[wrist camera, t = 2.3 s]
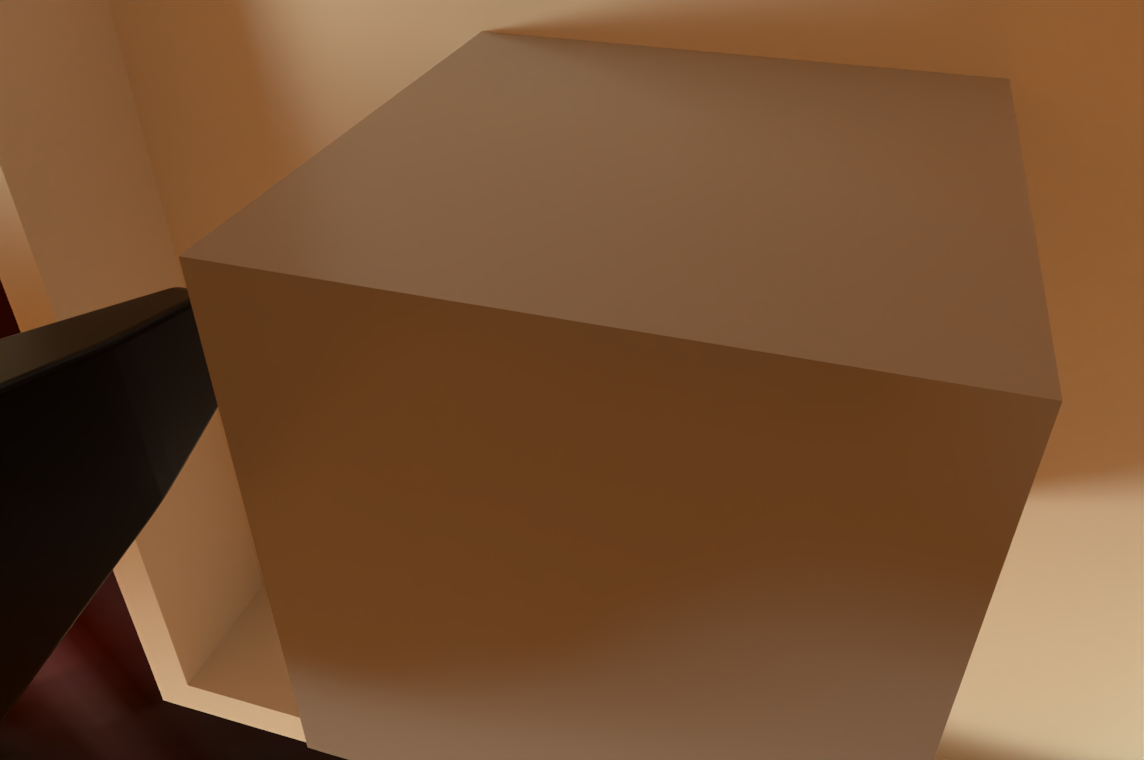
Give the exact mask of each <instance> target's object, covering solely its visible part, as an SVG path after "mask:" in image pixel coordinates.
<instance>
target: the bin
mask: <svg viewBox="0 0 1144 760" xmlns="http://www.w3.org/2000/svg"><path fill="white" fill-rule="evenodd" d="M481 31H484V32H495V33H507V34H518V35H529V36H540V37H551V38H562V39H573V40H584V41H595V42H606V43H617V44H628V45H639V46H650V47H661V48H672V49H684V50H695V51H706V52H717V53H728V54H739V55H750V56H761V57H772V58H783V59H794V60H805V61H816V62H827V63H838V64H849V65H861V66H872V67H883V68H894V69H905V70H916V71H927V72H938V73H949V74H960V75H971V76H982V77H993V78H1004V79H1009V80H1010V86H1011V92H1012V98H1013V104H1014V110H1015V116H1016V122H1017V128H1018V134H1019V140H1020V146H1021V152H1022V158H1023V164H1024V170H1025V177H1026V183H1027V189H1028V195H1029V201H1030V207H1031V213H1032V219H1033V225H1034V231H1035V237H1036V243H1037V249H1038V255H1039V261H1040V267H1041V274H1042V280H1043V286H1044V292H1045V298H1046V304H1047V310H1048V316H1049V322H1050V328H1051V334H1052V340H1053V346H1054V352H1055V358H1056V364H1057V370H1058V377H1059V383H1060V389H1061V395H1062V404H1061V407H1060V409H1059V412H1058V415H1057V418H1056V420H1055V423H1054V426H1053V429H1052V432H1051V434H1050V437H1049V440H1048V443H1047V445H1046V448H1045V451H1044V454H1043V457H1042V459H1041V462H1040V465H1039V468H1038V470H1037V473H1036V476H1035V479H1034V482H1033V484H1032V487H1031V490H1030V493H1029V495H1028V498H1027V501H1026V504H1025V507H1024V509H1023V512H1022V515H1021V518H1020V520H1019V523H1018V526H1017V529H1016V532H1015V534H1014V537H1013V540H1012V543H1011V545H1010V548H1009V551H1008V554H1007V557H1006V559H1005V562H1004V565H1003V568H1002V570H1001V573H1000V576H999V579H998V582H997V584H996V587H995V590H994V593H993V595H992V598H991V601H990V604H989V607H988V609H987V612H986V615H985V618H984V620H983V623H982V626H981V629H980V632H979V634H978V637H977V640H976V643H975V645H974V648H973V651H972V654H971V657H970V659H969V662H968V665H967V668H966V670H965V673H964V676H963V679H962V682H961V684H960V687H959V690H958V693H957V695H956V698H955V701H954V704H953V706H952V709H951V712H950V715H949V718H948V720H947V723H946V726H945V729H944V731H943V734H942V737H941V740H940V743H939V745H938V748H937V751H936V754H935V756H934V759H933V760H1144V0H0V280H1V282H2V285H3V287H4V290H5V293H6V295H7V298H8V300H9V303H10V305H11V308H12V311H13V313H14V316H15V318H16V321H17V324H18V326H19V329H20V331H21V332H24V331H28V330H31V329H35V328H38V327H41V326H45V325H48V324H51V323H55V322H58V321H61V320H65V319H68V318H71V317H75V316H78V315H81V314H85V313H88V312H91V311H95V310H98V309H102V308H105V307H108V306H112V305H115V304H118V303H122V302H125V301H128V300H132V299H135V298H138V297H142V296H145V295H148V294H152V293H155V292H158V291H162V290H165V289H169V288H173V287H183V288H187V287H186V283H185V279H184V275H183V272H182V268H181V264H180V260H179V255H181V254H182V253H183V252H185V251H186V250H187V249H189V248H190V247H192V246H193V245H194V244H196V243H197V242H198V241H200V240H201V239H202V238H204V237H205V236H206V235H208V234H209V233H210V232H212V231H213V230H214V229H216V228H217V227H219V226H220V225H221V224H223V223H224V222H225V221H227V220H228V219H229V218H231V217H232V216H233V215H235V214H236V213H237V212H239V211H240V210H241V209H243V208H244V207H245V206H247V205H248V204H250V203H251V202H252V201H254V200H255V199H256V198H258V197H259V196H260V195H262V194H263V193H264V192H266V191H267V190H268V189H270V188H271V187H272V186H274V185H275V184H276V183H278V182H279V181H281V180H282V179H283V178H285V177H286V176H287V175H289V174H290V173H291V172H293V171H294V170H295V169H297V168H298V167H299V166H301V165H302V164H303V163H305V162H306V161H307V160H309V159H310V158H312V157H313V156H314V155H316V154H317V153H318V152H320V151H321V150H322V149H324V148H325V147H326V146H328V145H329V144H330V143H332V142H333V141H334V140H336V139H337V138H338V137H340V136H341V135H343V134H344V133H345V132H347V131H348V130H349V129H351V128H352V127H353V126H355V125H356V124H357V123H359V122H360V121H361V120H363V119H364V118H365V117H367V116H368V115H369V114H371V113H372V112H374V111H375V110H376V109H378V108H379V107H380V106H382V105H383V104H384V103H386V102H387V101H388V100H390V99H391V98H392V97H394V96H395V95H396V94H398V93H399V92H400V91H402V90H403V89H405V88H406V87H407V86H409V85H410V84H411V83H413V82H414V81H415V80H417V79H418V78H419V77H421V76H422V75H423V74H425V73H426V72H427V71H429V70H430V69H431V68H433V67H434V66H436V65H437V64H438V63H440V62H441V61H442V60H444V59H445V58H446V57H448V56H449V55H450V54H452V53H453V52H454V51H456V50H457V49H458V48H460V47H461V46H463V45H464V44H465V43H467V42H468V41H469V40H471V39H472V38H473V37H475V36H476V35H477V34H479V33H480V32H481ZM113 571H114V574H115V576H116V579H117V581H118V584H119V587H120V589H121V592H122V594H123V597H124V600H125V602H126V605H127V607H128V610H129V612H130V615H131V618H132V620H133V623H134V625H135V628H136V630H137V633H138V636H139V638H140V641H141V643H142V646H143V649H144V651H145V654H146V656H147V659H148V661H149V664H150V667H151V669H152V672H153V674H154V677H155V680H156V682H157V685H158V687H159V690H160V692H161V695H162V698H163V700H164V701H168V702H171V703H175V704H178V705H181V706H185V707H188V708H192V709H195V710H198V711H202V712H205V713H209V714H212V715H215V716H219V717H222V718H226V719H229V720H232V721H236V722H239V723H243V724H246V725H249V726H253V727H256V728H260V729H263V730H266V731H270V732H273V733H277V734H280V735H283V736H287V737H290V738H294V739H297V740H300V741H304V742H306V739H305V735H304V731H303V728H302V724H301V720H300V716H299V712H298V709H297V705H296V701H295V697H294V693H293V690H292V686H291V682H290V678H289V674H288V671H287V667H286V663H285V659H284V655H283V652H282V648H281V644H280V640H279V636H278V633H277V629H276V625H275V621H274V617H273V614H272V610H271V606H270V602H269V598H268V595H267V591H266V587H265V583H264V579H263V576H262V572H261V568H260V564H259V560H258V557H257V553H256V549H255V545H254V541H253V538H252V534H251V530H250V526H249V522H248V519H247V515H246V511H245V507H244V503H243V500H242V496H241V492H240V488H239V484H238V481H237V477H236V473H235V469H234V465H233V462H232V458H231V454H230V450H229V446H228V443H227V439H226V435H225V431H224V427H223V424H222V420H221V416H220V412H219V408H217V410H216V412H215V413H214V415H213V417H212V418H211V420H210V422H209V424H208V425H207V427H206V429H205V430H204V432H203V434H202V436H201V437H200V439H199V441H198V442H197V444H196V446H195V448H194V449H193V451H192V453H191V454H190V456H189V458H188V460H187V461H186V463H185V465H184V466H183V468H182V470H181V472H180V473H179V475H178V477H177V478H176V480H175V482H174V483H173V485H172V487H171V488H170V490H169V491H168V493H167V495H166V496H165V498H164V500H163V501H162V503H161V504H160V505H159V507H158V508H157V510H156V511H155V513H154V514H153V516H152V517H151V518H150V520H149V521H148V523H147V524H146V525H145V527H144V528H143V529H142V531H141V532H140V533H139V535H138V536H137V538H136V539H135V540H134V542H133V543H132V544H131V546H130V547H129V549H128V550H127V551H126V553H125V554H124V555H123V557H122V558H121V559H120V561H119V562H118V564H117V565H116V566H115V568H114V569H113Z"/></svg>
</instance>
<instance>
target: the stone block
mask: <svg viewBox="0 0 1144 760" xmlns="http://www.w3.org/2000/svg"><path fill="white" fill-rule="evenodd" d="M179 260H180V264H181V268H182V272H183V275H184V279H185V283H186V287H187V291H188V294H189V298H190V302H191V306H192V310H193V313H194V317H195V321H196V325H197V329H198V332H199V336H200V340H201V344H202V348H203V351H204V355H205V359H206V363H207V367H208V370H209V374H210V378H211V382H212V386H213V389H214V393H215V397H216V401H217V405H218V408H219V412H220V416H221V420H222V424H223V427H224V431H225V435H226V439H227V443H228V446H229V450H230V454H231V458H232V462H233V465H234V469H235V473H236V477H237V481H238V484H239V488H240V492H241V496H242V500H243V503H244V507H245V511H246V515H247V519H248V522H249V526H250V530H251V534H252V538H253V541H254V545H255V549H256V553H257V557H258V560H259V564H260V568H261V572H262V576H263V579H264V583H265V587H266V591H267V595H268V598H269V602H270V606H271V610H272V614H273V617H274V621H275V625H276V629H277V633H278V636H279V640H280V644H281V648H282V652H283V655H284V659H285V663H286V667H287V671H288V674H289V678H290V682H291V686H292V690H293V693H294V697H295V701H296V705H297V709H298V712H299V716H300V720H301V724H302V728H303V731H304V735H305V739H306V743H307V747H308V748H311V749H315V750H318V751H321V752H325V753H328V754H332V755H335V756H338V757H342V758H345V759H348V760H933V759H934V756H935V754H936V751H937V748H938V745H939V743H940V740H941V737H942V734H943V731H944V729H945V726H946V723H947V720H948V718H949V715H950V712H951V709H952V706H953V704H954V701H955V698H956V695H957V693H958V690H959V687H960V684H961V682H962V679H963V676H964V673H965V670H966V668H967V665H968V662H969V659H970V657H971V654H972V651H973V648H974V645H975V643H976V640H977V637H978V634H979V632H980V629H981V626H982V623H983V620H984V618H985V615H986V612H987V609H988V607H989V604H990V601H991V598H992V595H993V593H994V590H995V587H996V584H997V582H998V579H999V576H1000V573H1001V570H1002V568H1003V565H1004V562H1005V559H1006V557H1007V554H1008V551H1009V548H1010V545H1011V543H1012V540H1013V537H1014V534H1015V532H1016V529H1017V526H1018V523H1019V520H1020V518H1021V515H1022V512H1023V509H1024V507H1025V504H1026V501H1027V498H1028V495H1029V493H1030V490H1031V487H1032V484H1033V482H1034V479H1035V476H1036V473H1037V470H1038V468H1039V465H1040V462H1041V459H1042V457H1043V454H1044V451H1045V448H1046V445H1047V443H1048V440H1049V437H1050V434H1051V432H1052V429H1053V426H1054V423H1055V420H1056V418H1057V415H1058V412H1059V409H1060V407H1061V404H1062V395H1061V389H1060V383H1059V377H1058V370H1057V364H1056V358H1055V352H1054V346H1053V340H1052V334H1051V328H1050V322H1049V316H1048V310H1047V304H1046V298H1045V292H1044V286H1043V280H1042V274H1041V267H1040V261H1039V255H1038V249H1037V243H1036V237H1035V231H1034V225H1033V219H1032V213H1031V207H1030V201H1029V195H1028V189H1027V183H1026V177H1025V170H1024V164H1023V158H1022V152H1021V146H1020V140H1019V134H1018V128H1017V122H1016V116H1015V110H1014V104H1013V98H1012V92H1011V86H1010V80H1009V79H1004V78H993V77H982V76H971V75H960V74H949V73H938V72H927V71H916V70H905V69H894V68H883V67H872V66H861V65H849V64H838V63H827V62H816V61H805V60H794V59H783V58H772V57H761V56H750V55H739V54H728V53H717V52H706V51H695V50H684V49H672V48H661V47H650V46H639V45H628V44H617V43H606V42H595V41H584V40H573V39H562V38H551V37H540V36H529V35H518V34H507V33H495V32H484V31H481V32H480V33H479V34H477V35H476V36H475V37H473V38H472V39H471V40H469V41H468V42H467V43H465V44H464V45H463V46H461V47H460V48H458V49H457V50H456V51H454V52H453V53H452V54H450V55H449V56H448V57H446V58H445V59H444V60H442V61H441V62H440V63H438V64H437V65H436V66H434V67H433V68H431V69H430V70H429V71H427V72H426V73H425V74H423V75H422V76H421V77H419V78H418V79H417V80H415V81H414V82H413V83H411V84H410V85H409V86H407V87H406V88H405V89H403V90H402V91H400V92H399V93H398V94H396V95H395V96H394V97H392V98H391V99H390V100H388V101H387V102H386V103H384V104H383V105H382V106H380V107H379V108H378V109H376V110H375V111H374V112H372V113H371V114H369V115H368V116H367V117H365V118H364V119H363V120H361V121H360V122H359V123H357V124H356V125H355V126H353V127H352V128H351V129H349V130H348V131H347V132H345V133H344V134H343V135H341V136H340V137H338V138H337V139H336V140H334V141H333V142H332V143H330V144H329V145H328V146H326V147H325V148H324V149H322V150H321V151H320V152H318V153H317V154H316V155H314V156H313V157H312V158H310V159H309V160H307V161H306V162H305V163H303V164H302V165H301V166H299V167H298V168H297V169H295V170H294V171H293V172H291V173H290V174H289V175H287V176H286V177H285V178H283V179H282V180H281V181H279V182H278V183H276V184H275V185H274V186H272V187H271V188H270V189H268V190H267V191H266V192H264V193H263V194H262V195H260V196H259V197H258V198H256V199H255V200H254V201H252V202H251V203H250V204H248V205H247V206H245V207H244V208H243V209H241V210H240V211H239V212H237V213H236V214H235V215H233V216H232V217H231V218H229V219H228V220H227V221H225V222H224V223H223V224H221V225H220V226H219V227H217V228H216V229H214V230H213V231H212V232H210V233H209V234H208V235H206V236H205V237H204V238H202V239H201V240H200V241H198V242H197V243H196V244H194V245H193V246H192V247H190V248H189V249H187V250H186V251H185V252H183V253H182V254H181V255H179Z"/></svg>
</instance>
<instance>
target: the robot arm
mask: <svg viewBox="0 0 1144 760" xmlns="http://www.w3.org/2000/svg"><path fill="white" fill-rule="evenodd" d="M217 408H218V405H217V401H216V397H215V393H214V389H213V386H212V382H211V378H210V374H209V370H208V367H207V363H206V359H205V355H204V351H203V348H202V344H201V340H200V336H199V332H198V329H197V325H196V321H195V317H194V313H193V310H192V306H191V302H190V298H189V294H188V291H187V288H183V287H173V288H169V289H165V290H162V291H158V292H155V293H152V294H148V295H145V296H142V297H138V298H135V299H132V300H128V301H125V302H122V303H118V304H115V305H112V306H108V307H105V308H102V309H98V310H95V311H91V312H88V313H85V314H81V315H78V316H75V317H71V318H68V319H65V320H61V321H58V322H55V323H51V324H48V325H45V326H41V327H38V328H35V329H31V330H28V331H24V332H21V333H18V334H14V335H11V336H8V337H4V338H1V339H0V723H1V722H2V721H3V719H4V718H5V716H6V715H7V714H8V712H9V711H10V710H11V708H12V707H13V706H14V704H15V703H16V701H17V700H18V699H19V697H20V696H21V695H22V693H23V692H24V690H25V689H26V688H27V686H28V685H29V684H30V682H31V681H32V680H33V678H34V677H35V675H36V674H37V673H38V671H39V670H40V669H41V667H42V666H43V665H44V663H45V662H46V660H47V659H48V658H49V656H50V655H51V654H52V652H53V651H54V650H55V648H56V647H57V645H58V644H59V643H60V641H61V640H62V639H63V637H64V636H65V635H66V633H67V632H68V630H69V629H70V628H71V626H72V625H73V624H74V622H75V621H76V619H77V618H78V617H79V615H80V614H81V613H82V611H83V610H84V609H85V607H86V606H87V604H88V603H89V602H90V600H91V599H92V598H93V596H94V595H95V594H96V592H97V591H98V589H99V588H100V587H101V585H102V584H103V583H104V581H105V580H106V579H107V577H108V576H109V574H110V573H111V572H112V570H113V569H114V568H115V566H116V565H117V564H118V562H119V561H120V559H121V558H122V557H123V555H124V554H125V553H126V551H127V550H128V549H129V547H130V546H131V544H132V543H133V542H134V540H135V539H136V538H137V536H138V535H139V533H140V532H141V531H142V529H143V528H144V527H145V525H146V524H147V523H148V521H149V520H150V518H151V517H152V516H153V514H154V513H155V511H156V510H157V508H158V507H159V505H160V504H161V503H162V501H163V500H164V498H165V496H166V495H167V493H168V491H169V490H170V488H171V487H172V485H173V483H174V482H175V480H176V478H177V477H178V475H179V473H180V472H181V470H182V468H183V466H184V465H185V463H186V461H187V460H188V458H189V456H190V454H191V453H192V451H193V449H194V448H195V446H196V444H197V442H198V441H199V439H200V437H201V436H202V434H203V432H204V430H205V429H206V427H207V425H208V424H209V422H210V420H211V418H212V417H213V415H214V413H215V412H216V410H217Z"/></svg>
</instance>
